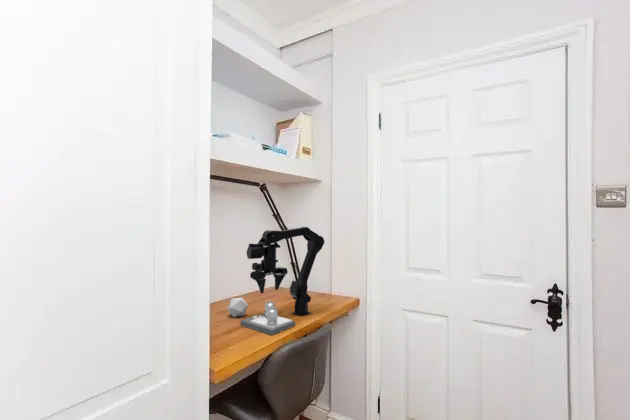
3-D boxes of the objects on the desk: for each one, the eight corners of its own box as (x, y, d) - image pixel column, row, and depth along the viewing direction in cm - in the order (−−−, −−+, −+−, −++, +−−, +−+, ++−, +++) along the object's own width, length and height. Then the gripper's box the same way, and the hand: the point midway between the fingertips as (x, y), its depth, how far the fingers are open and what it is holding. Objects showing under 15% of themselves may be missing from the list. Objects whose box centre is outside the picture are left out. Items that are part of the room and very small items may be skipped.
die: (244, 313, 162) (232, 297, 162) (254, 307, 157) (242, 290, 157) (233, 324, 155) (220, 307, 155) (243, 318, 150) (230, 300, 150)
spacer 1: (276, 316, 146) (277, 302, 146) (269, 318, 142) (269, 304, 143) (269, 314, 149) (270, 301, 149) (262, 316, 145) (262, 303, 145)
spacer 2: (272, 321, 139) (272, 307, 139) (279, 324, 136) (279, 309, 136) (264, 324, 135) (264, 309, 135) (271, 326, 132) (272, 311, 132)
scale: (264, 317, 153) (264, 311, 153) (295, 326, 142) (295, 319, 142) (240, 325, 142) (240, 318, 142) (271, 335, 130) (271, 328, 130)
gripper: (271, 254, 164) (271, 285, 164) (242, 258, 149) (241, 292, 149) (288, 256, 157) (288, 289, 157) (259, 260, 143) (258, 296, 142)
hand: (269, 291), depth 152 cm, fingers open, 9 cm apart
